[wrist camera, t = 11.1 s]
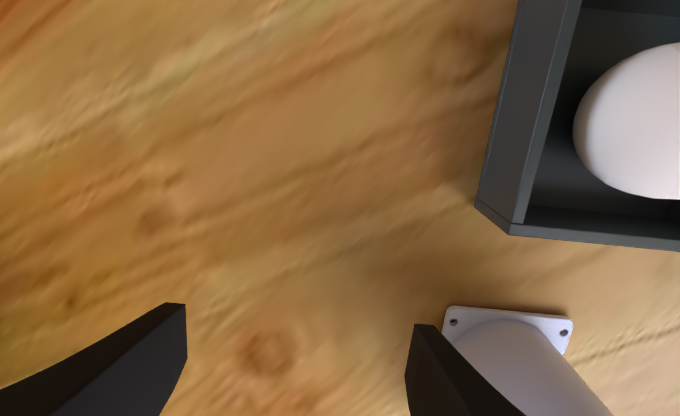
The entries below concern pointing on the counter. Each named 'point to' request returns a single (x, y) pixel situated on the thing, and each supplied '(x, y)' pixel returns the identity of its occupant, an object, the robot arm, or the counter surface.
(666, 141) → the egg
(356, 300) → the counter surface
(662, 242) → the bin
